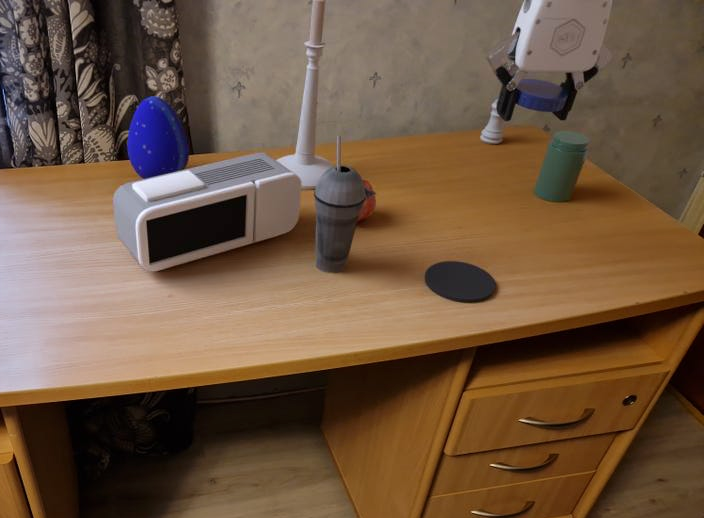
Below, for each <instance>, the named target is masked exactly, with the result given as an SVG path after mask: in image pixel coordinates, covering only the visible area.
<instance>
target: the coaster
mask: <svg viewBox="0 0 704 518" xmlns="http://www.w3.org/2000/svg"><path fill="white" fill-rule="evenodd" d="M424 282H425V285H426V286H427V288H428V289H429V290H430V291H432V292H433V293H434V294H436V295H438V296H440V297H442V298H444V299H446V300H450V301H452V302H458V303H466V304H468V303H469V304H471V303H478V302H484V301H485V300H487V299H490V298H491V297H492V296H493V295H494V293H495V291H496V285H497V284H496V280H495V278H494V277H493V276H492V275H491V274H490V273H489V272H488V271H486V270H485V269H483V268H481V267H479V266H478V265H475V264H472V263H468V262H464V261H458V260H457V261H455V260H445V261H439V262H435V263H434V264H432V265H430V266H428V268H427V269H426V271H425V274H424Z"/></svg>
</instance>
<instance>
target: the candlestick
mask: <svg viewBox="0 0 704 518" xmlns="http://www.w3.org/2000/svg"><path fill="white" fill-rule="evenodd" d="M311 5H312V6H311V18H310V27H309V29H310V30H309V40H308V41H304V42H303V44H304V46H305V47H306V52H305V54H306V56H307V57H308V64H307V65H306V73H305V74H306V75H305V79H304V80H305V81H304V88H303V96H302V103H301V111H300V118H299V124H298V132H297V134H298V135H297V139H296V140H297V141H296V147H295V153H294V154H288V155H284V156H282V157H280V158H278V159H275V160H276V161H277V162H279V163H280V164H282V165H283V166H285V167H286V168H287V169H289V170H290V171H292V172H293V173H294V174H296V175H297V176H299V178H300V179H301V184H302V188H301V190H307V191H308V190H309V191H311V190H315V189H316V185H317V183H318V181H319V179H320V178H321V176H322V175H323V174H324V173H325V172H326V171H327V170H329V169H330V168H332V167H335V166H336V165H334V164H333V162H331V161H330V160H328V159H326V158H325V157H322V156H319V155H316V139H317V138H316V136H317V135H316V134H317V116H318V115H317V114H318V95H319V74H320V66H319V61H320V58H321V57H322V56H323V49H324V47H326V46H327V42H324V41H322V40H323V31H324V19H325V10H326V9H325V8H326V0H312V4H311Z"/></svg>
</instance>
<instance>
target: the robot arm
mask: <svg viewBox="0 0 704 518" xmlns="http://www.w3.org/2000/svg"><path fill="white" fill-rule="evenodd" d="M612 5H613V0H524V1H523V2H522V4H521V8H520V10H519V13H518V15H517V18H516V21H515V24H514V27H513V29H512V33H511V36H509V37H508V38H506V39H505V40H503V41H502V42H501V43H500V44H498V45H497V46H496V47H495V48H493V49H491V50H490V51H489V52H488V53H487V54H486V55H485V56H486V57H485V59H486V60H487V62H488V64H489V66H490V68H491V69H492V72H493V74H494V75H495V76H496V78H497V79H498V81H499V83H500V84H501V88H500V92H499V95H498V97H497V99H498V102H497V106H496V110H497V114H498V115H499V116H500V117H501V118H502V119H503V122H509V121H511V120H512V118H513V114H514V110H515V107H516V105H517V104H516V101H517V97H518V93H519V92H518V91H517V90H516V87H517V86H518V84H519V83H520V82H521V80H522V79H525V77H526V75H527V74H528V73H533V74H535V73H536V74H537V73H538V74H539V73H541V74H543V73H545V74H546V73H547V74H549V73H553V74H554V73H561V74H562V73H564V78H565V80H564V82H561V83H560V84H559V86H561V87H562V88H564V89H565V90H566V91H567V92H568V97H567V100H566V103H565V105H564V107H563V108H562V109H561V110H559V111H555V112H551V113H552V114H553V115H554V116H555V117H556V118H557V119H558V120H560V121H566V120H567V118H568V116H569V112H571V110H572V108H573V106H574V102H575V100H576V97H577V94H578V91H580V90H582V89H583V88H584V87H585V84H586V83H587V82H589V81H590V80H591V79H593V78H594V77H595V76H597V74H598V73H599V71H601V70H602V69H603V68H604V67H605V66H607V65H608V64H609V63H610V62H611V61H612V60H613V57H614V56H613V55H612V53H611V51H610V50H609V48H608V47H607V46H606V44H605V43H604V40H605V36H606V31H607V28H608V24H609V20H610V16H611V11H612ZM506 57H507V59H508V60H509V61H510V63H509V65H508V67H507V68H506V66H505V64H504V62H503V60H504V59H505V58H506Z"/></svg>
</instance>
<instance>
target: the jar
mask: <svg viewBox="0 0 704 518" xmlns="http://www.w3.org/2000/svg"><path fill="white" fill-rule="evenodd" d="M590 140H591V139H590V138H589V136H587V135H585V134H584V133H580V132H577V131H571V130H560V131H556V132H555V133H554V134H553V136H552V138H551V139H550V140H549V142H548V144H547V148H546V151H545V154H544V156H543V160H542V162H541V166H540V169H539V171H538V175H537V178H536V181H535V183H534V186H533V188H532V189H533V190H532V192H533V194H534V195H535V196H536V197H538V198H540V199H541V200H544V201H547V202H553V203H554V202H555V203H564V202H567V201H570V200H571V198H572V196H573V193H574V191H575V188H576V186H577V182H578V180H579V177H580V174H581V171H582V170H583V167H584V164H585V161H586V160H587V156H588V154H589V150H590V147H589V145H590V143H591V142H590Z"/></svg>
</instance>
